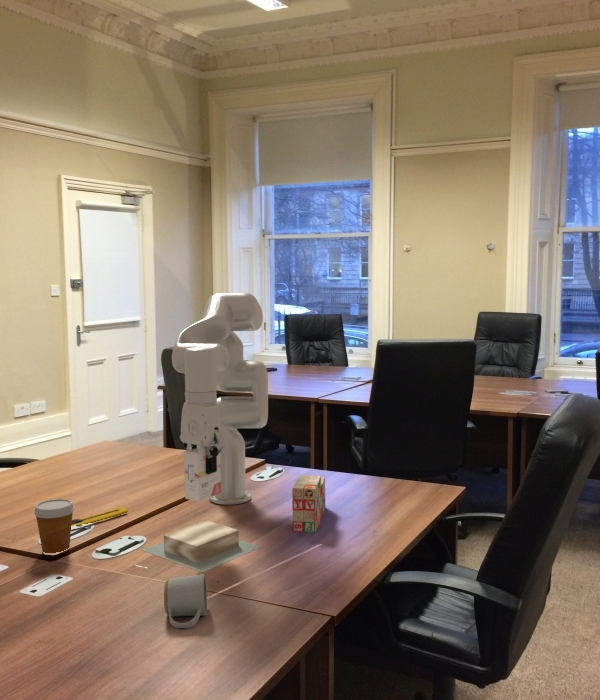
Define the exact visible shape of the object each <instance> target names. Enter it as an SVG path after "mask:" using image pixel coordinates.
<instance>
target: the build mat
mask: <svg viewBox="0 0 600 700" xmlns="http://www.w3.org/2000/svg"><path fill="white" fill-rule="evenodd" d="M260 548H262V546H261V545H257V544H254V543H251V542H249V541H244V540H241V539H239V546H237V547H234V548H232V549H230V550H227V551H225V552H222V553H220V554H218V555H215V556H213V557H210V558H208V559H206V560H203V561H201V562H198V563H196V562H193V561H191V560H188V559H185V558H182V557H179V556H177V555H174V554H171V553H168V552H165V551H164V541H162V542H159V543H156V544H154V545H151V546H148V547H146V548H143V549H141V551H144V552H146V553H148V554H151V555H154V556H155V557H156V556H157V557H159V558H162V559H164V560H167V561H170V562H173V563H175V564H178V565H181V566H184V567H187V568H189V569H191V570H194V571H198V572H199V573H202V574H203V573H204V572H207V571H210V570H212V569H213V568H217V567H218V566H222V565H223V564H226V563H228V562H229V561H232V560H235V559H237V558H239V557H242V556H243V555H246V554H249V553H250V552H254V551H255V550H258V549H260Z"/></svg>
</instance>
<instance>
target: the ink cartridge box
mask: <svg viewBox="0 0 600 700" xmlns="http://www.w3.org/2000/svg"><path fill="white" fill-rule="evenodd" d="M197 445H198V448H196V449H193V450H190V451H186V450H185V451H184V452H183V462H184V463H183V467H184V470H183V471H184V492H185V495H184V496H185V497H184V498H185V500H189V501H195V502H202V501H205V500H208V499H210V497H212V496H214V495H216V494H219V493H221V467H220V453H219V455H218V456H217V471H216V472H214V473H211V474H206V458H207V453H206V449H205V447H202V446H201V441H198V443H197ZM210 448H211V451H212V450H213V449H212V447H210Z"/></svg>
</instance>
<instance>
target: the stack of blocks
mask: <svg viewBox="0 0 600 700" xmlns="http://www.w3.org/2000/svg"><path fill="white" fill-rule="evenodd" d="M325 478H326V477H324V476H321V475H305V474H300V475H299V476H298V477H297V479H296V481H295V483H294V484H293V486H292V490H291V492H292V501H291V502H292V504H291V505H292V506H291V507H292V532H293V533H294V532H296V533H316V532H317V529H318V528H319V525H320V523H321V520H322V516H323V515H324V512H325V509H326V484H325V483H326V479H325Z"/></svg>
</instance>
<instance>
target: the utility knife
mask: <svg viewBox="0 0 600 700" xmlns="http://www.w3.org/2000/svg"><path fill="white" fill-rule="evenodd" d="M128 511H129V510H128V508H127V507H118V508H115V509H111V510H105V511H104V512H99V513H95V514H93V515H90V516H89V515H88V516H86V517H82V518H76V519H75V518H74V519H72V525H71V526H74V525H82V524H88V523H93V522H96V521H100V520H103V519H107V518H111V517H115V516H118V515H121V514H124V513H127V512H128ZM128 513H129V512H128Z"/></svg>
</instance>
